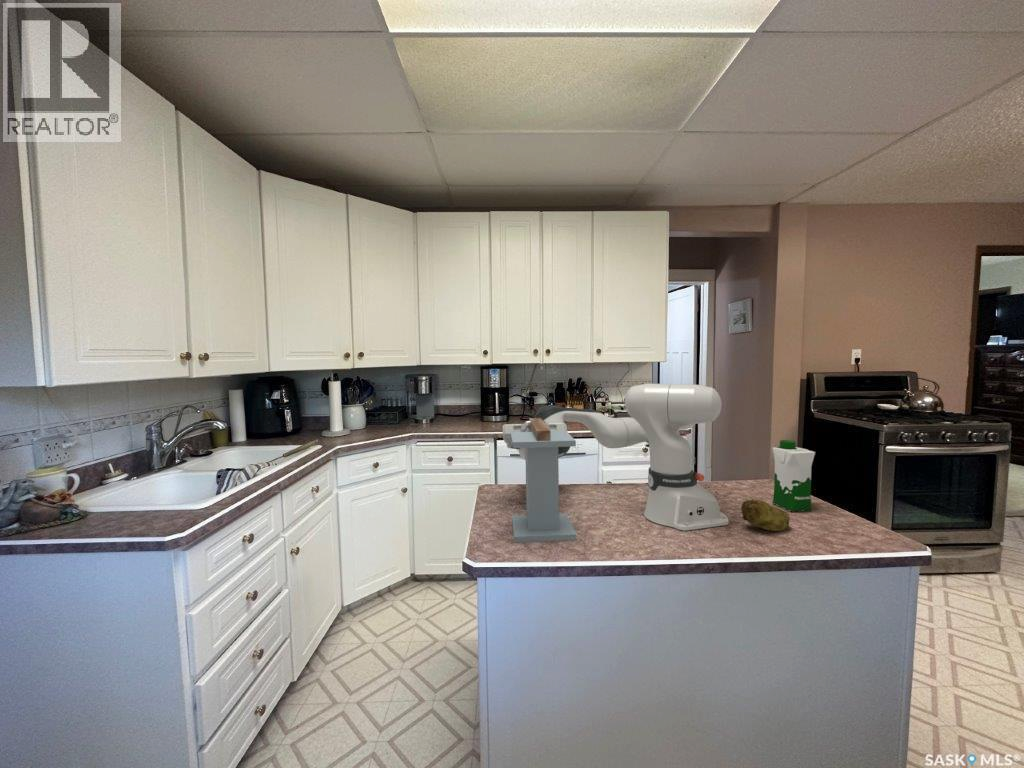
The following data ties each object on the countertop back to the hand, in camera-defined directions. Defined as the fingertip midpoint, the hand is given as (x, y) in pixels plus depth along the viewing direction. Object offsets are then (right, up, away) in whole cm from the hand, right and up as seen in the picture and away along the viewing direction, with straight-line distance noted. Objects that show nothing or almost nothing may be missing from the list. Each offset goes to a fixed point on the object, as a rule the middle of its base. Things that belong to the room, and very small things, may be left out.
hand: (536, 423), depth 119 cm
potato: (+61, -28, -11) cm, 68 cm away
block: (0, -2, -6) cm, 6 cm away
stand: (+1, -28, -9) cm, 30 cm away
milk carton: (+78, -26, +3) cm, 83 cm away
